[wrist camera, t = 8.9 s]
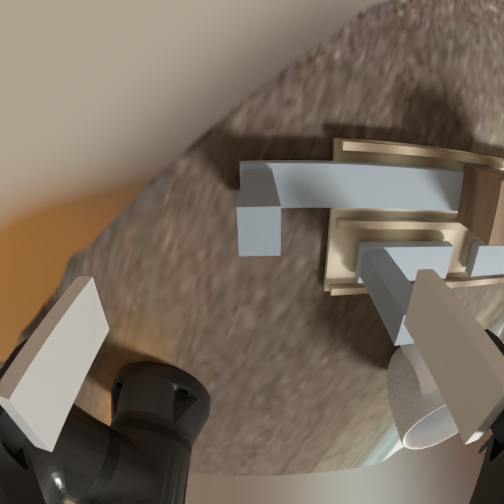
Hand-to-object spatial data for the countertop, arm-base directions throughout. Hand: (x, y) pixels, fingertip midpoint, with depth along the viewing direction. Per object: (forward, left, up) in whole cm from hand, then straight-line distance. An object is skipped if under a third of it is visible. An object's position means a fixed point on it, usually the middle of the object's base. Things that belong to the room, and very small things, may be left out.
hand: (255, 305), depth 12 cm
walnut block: (+24, 0, -17) cm, 29 cm away
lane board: (+24, -4, -19) cm, 31 cm away
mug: (+21, -23, -20) cm, 37 cm away
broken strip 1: (+16, -8, -18) cm, 25 cm away
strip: (+14, 0, -18) cm, 23 cm away
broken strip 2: (+33, -8, -18) cm, 38 cm away
